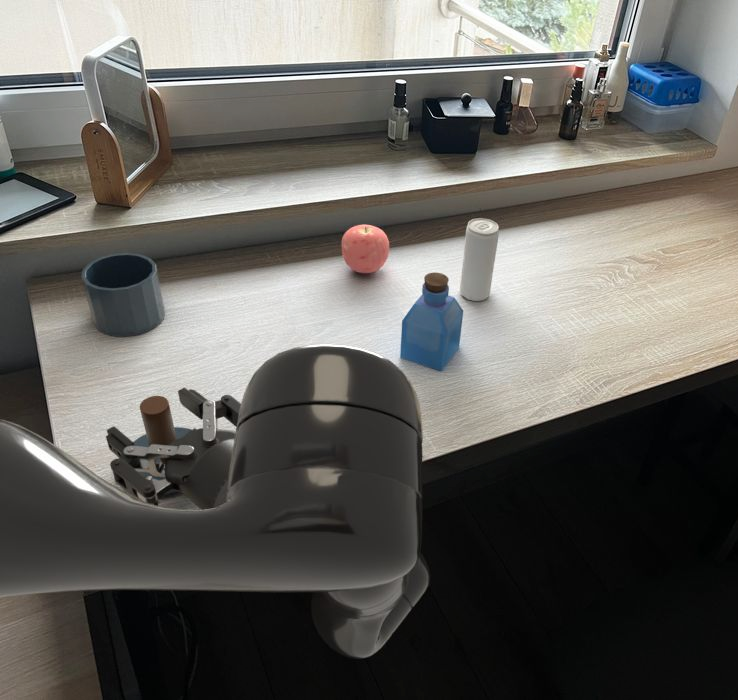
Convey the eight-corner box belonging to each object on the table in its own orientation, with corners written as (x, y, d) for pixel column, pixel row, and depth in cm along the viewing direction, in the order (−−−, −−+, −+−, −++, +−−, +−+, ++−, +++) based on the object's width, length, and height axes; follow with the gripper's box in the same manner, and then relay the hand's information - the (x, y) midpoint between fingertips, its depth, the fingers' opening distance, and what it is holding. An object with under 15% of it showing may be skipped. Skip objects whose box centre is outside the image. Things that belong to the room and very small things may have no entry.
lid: (143, 513, 75) (126, 452, 69) (106, 458, 80) (87, 397, 74) (229, 470, 80) (220, 411, 75) (189, 422, 85) (177, 363, 80)
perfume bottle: (400, 357, 99) (404, 283, 91) (419, 333, 103) (424, 261, 96) (441, 371, 97) (448, 297, 90) (459, 346, 102) (467, 274, 94)
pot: (110, 345, 95) (97, 298, 90) (83, 311, 100) (70, 265, 95) (176, 321, 100) (167, 276, 95) (148, 291, 105) (138, 246, 100)
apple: (389, 282, 113) (391, 237, 108) (341, 282, 111) (341, 236, 107) (387, 257, 118) (389, 214, 113) (342, 256, 117) (341, 212, 112)
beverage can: (453, 293, 112) (460, 224, 105) (472, 281, 115) (481, 214, 108) (476, 306, 110) (485, 237, 103) (496, 294, 113) (506, 226, 106)
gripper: (302, 428, 72) (199, 356, 79) (177, 513, 63) (74, 422, 70) (305, 478, 77) (208, 406, 84) (189, 564, 67) (91, 474, 75)
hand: (147, 413), depth 77 cm, fingers open, 8 cm apart
